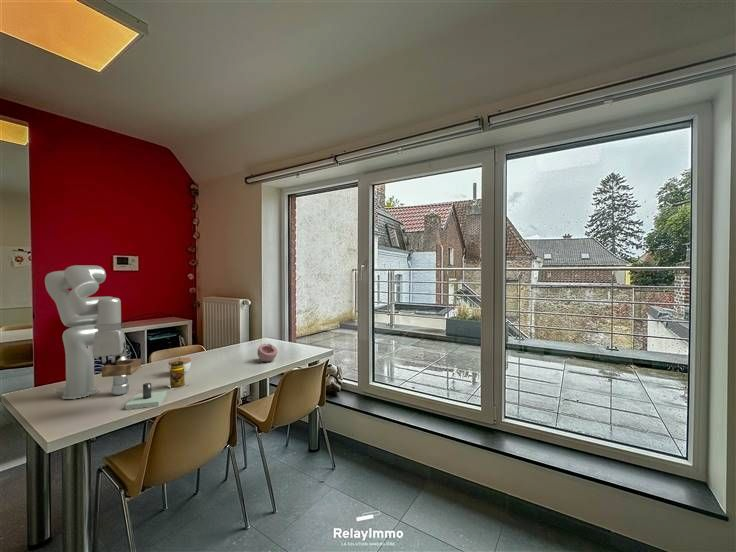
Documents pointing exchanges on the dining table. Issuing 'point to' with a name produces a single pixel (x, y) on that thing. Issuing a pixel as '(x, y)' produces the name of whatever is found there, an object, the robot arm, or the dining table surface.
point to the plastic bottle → (120, 382)
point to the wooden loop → (121, 368)
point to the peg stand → (146, 398)
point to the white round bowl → (185, 362)
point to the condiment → (177, 375)
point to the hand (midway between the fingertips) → (110, 371)
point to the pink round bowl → (266, 352)
